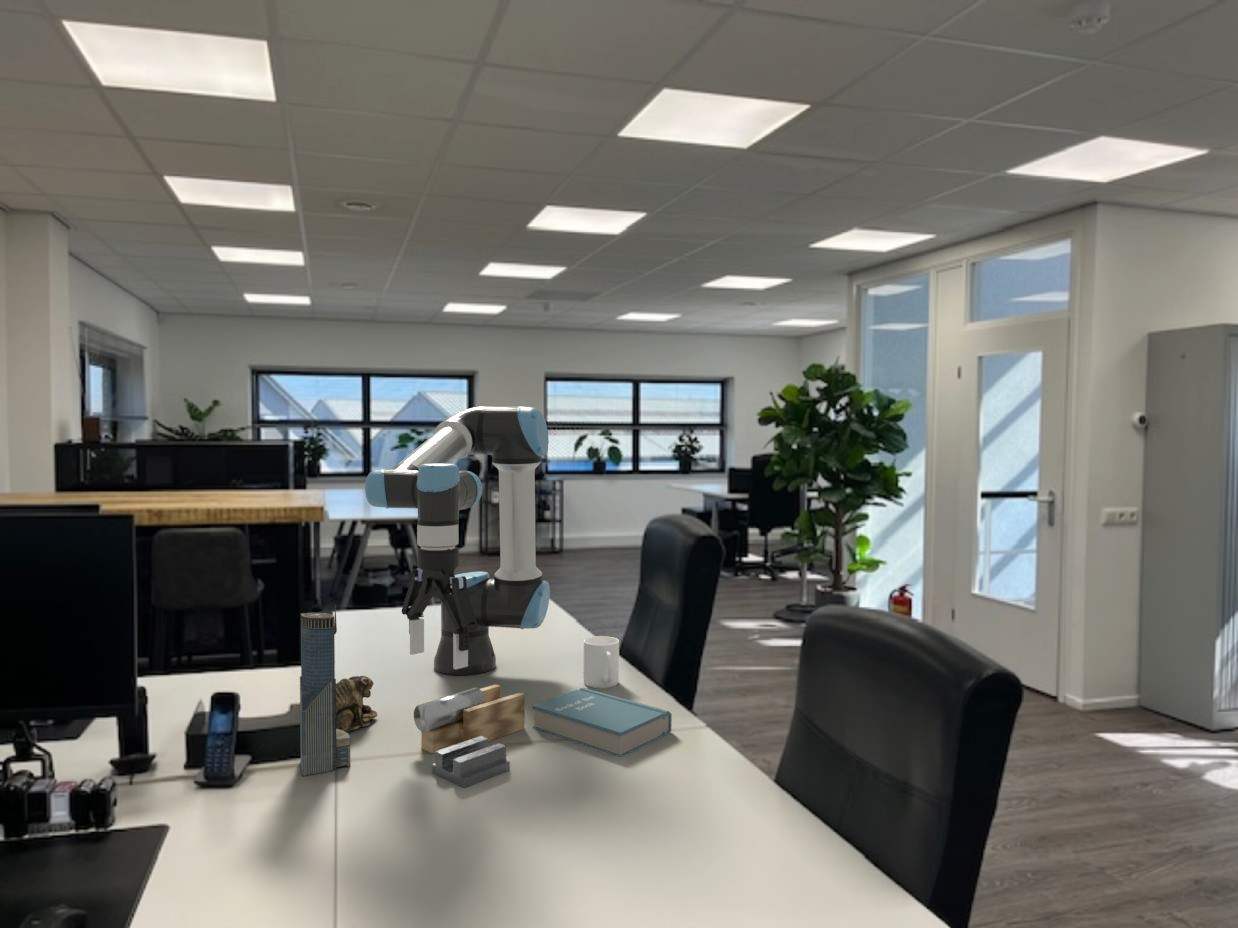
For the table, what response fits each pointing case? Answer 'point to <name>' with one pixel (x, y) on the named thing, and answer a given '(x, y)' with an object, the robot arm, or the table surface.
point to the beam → (480, 721)
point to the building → (320, 698)
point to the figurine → (353, 703)
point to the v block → (470, 761)
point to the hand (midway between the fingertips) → (438, 660)
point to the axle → (446, 709)
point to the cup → (601, 662)
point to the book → (602, 721)
